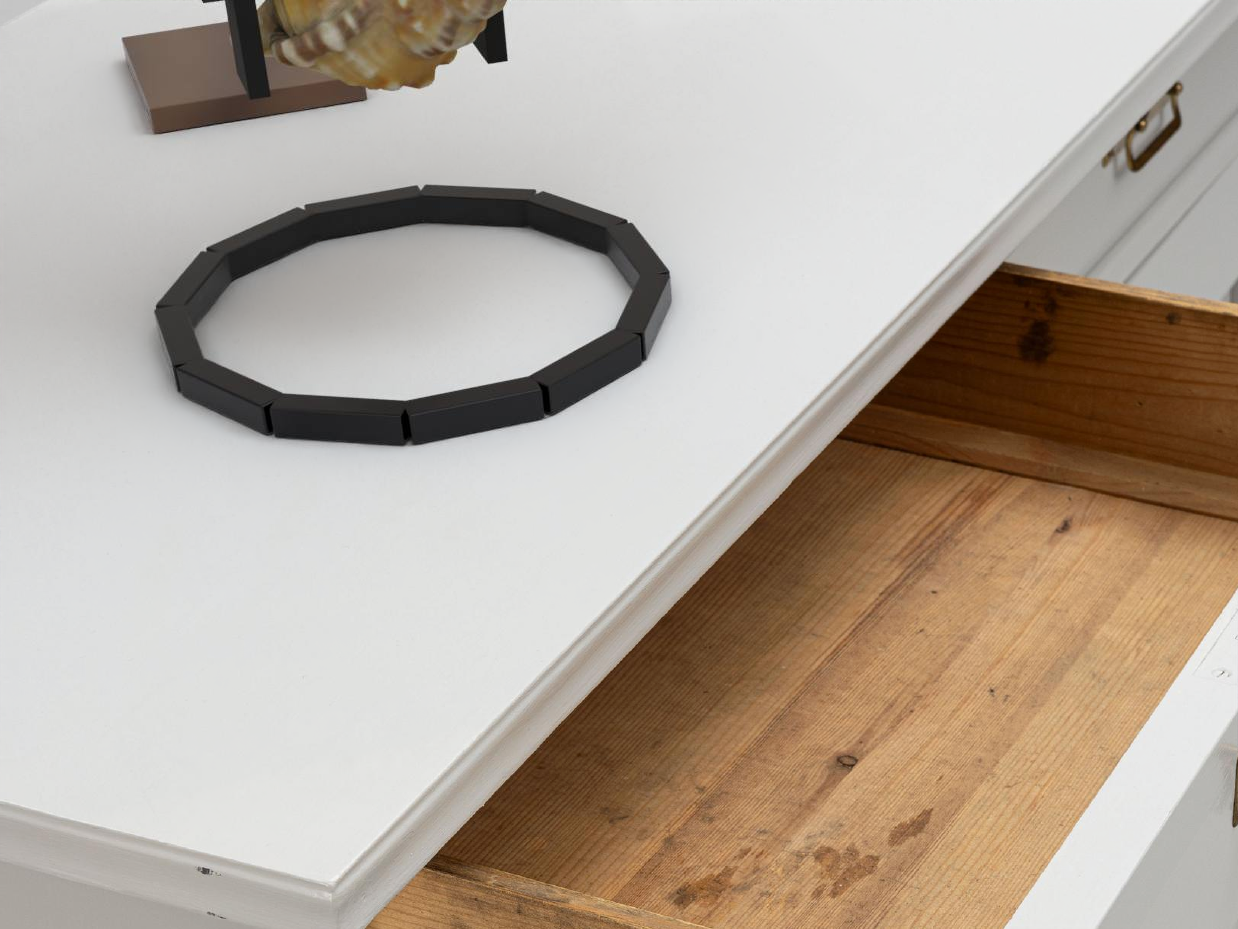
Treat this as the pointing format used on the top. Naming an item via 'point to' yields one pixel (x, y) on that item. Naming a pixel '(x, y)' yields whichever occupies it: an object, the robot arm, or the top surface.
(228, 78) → the walnut board
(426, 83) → the seashell
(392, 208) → the burner ring
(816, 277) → the top surface
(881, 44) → the top surface
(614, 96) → the top surface
